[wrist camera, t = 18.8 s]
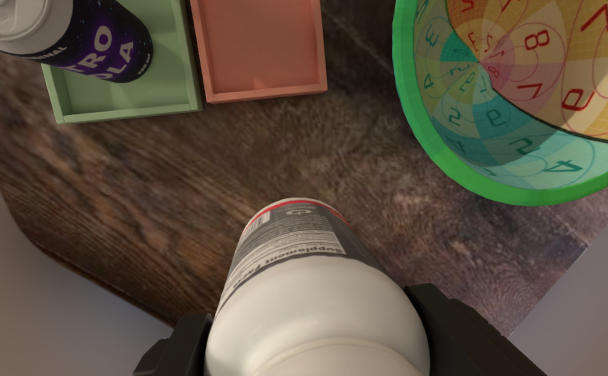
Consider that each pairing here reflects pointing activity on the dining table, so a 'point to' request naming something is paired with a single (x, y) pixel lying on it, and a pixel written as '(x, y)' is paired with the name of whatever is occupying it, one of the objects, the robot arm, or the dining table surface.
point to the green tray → (145, 90)
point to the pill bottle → (311, 303)
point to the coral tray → (259, 48)
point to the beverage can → (77, 37)
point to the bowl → (508, 93)
